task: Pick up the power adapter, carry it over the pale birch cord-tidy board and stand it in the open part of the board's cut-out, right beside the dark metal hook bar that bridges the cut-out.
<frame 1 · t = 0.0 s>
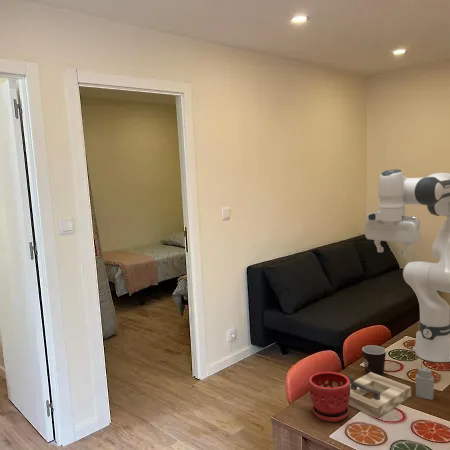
hand: (392, 253, 162), 48 cm above the table, tool pointing down, fingers open, 8 cm apart
coffee mug: (373, 373, 174), on the table
plant pot: (330, 414, 148), on the table
tidy board: (373, 398, 156), on the table
power adapter: (424, 396, 155), on the table
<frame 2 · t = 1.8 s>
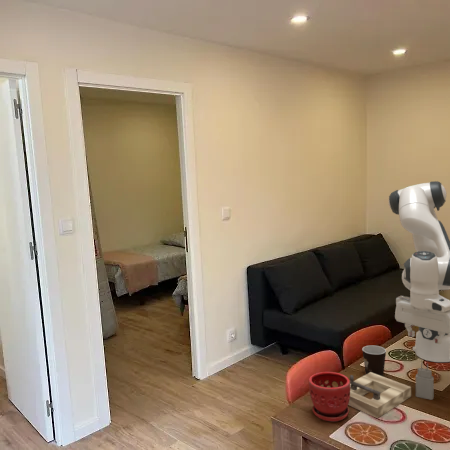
hand: (424, 339, 153), 20 cm above the table, tool pointing down, fingers open, 8 cm apart
nothing on the table moved.
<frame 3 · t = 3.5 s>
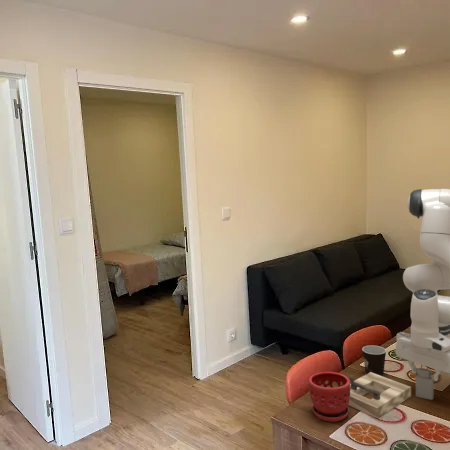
hand: (424, 376, 154), 7 cm above the table, tool pointing down, fingers closed on power adapter, 6 cm apart
power adapter: (424, 396, 155), on the table, touching gripper
everything else where it was.
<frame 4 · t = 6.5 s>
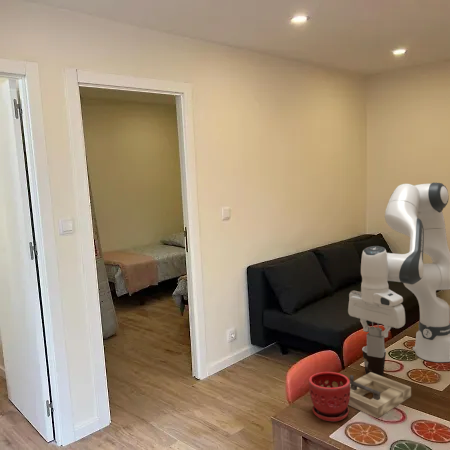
hand: (375, 334, 154), 23 cm above the table, tool pointing down, fingers closed on power adapter, 6 cm apart
power adapter: (375, 355, 155), point 15 cm above the table, touching gripper
everything else where it was.
when the fingers open (9 cm above the table, at t = 9.5 s): power adapter stays where it is, resting in tidy board.
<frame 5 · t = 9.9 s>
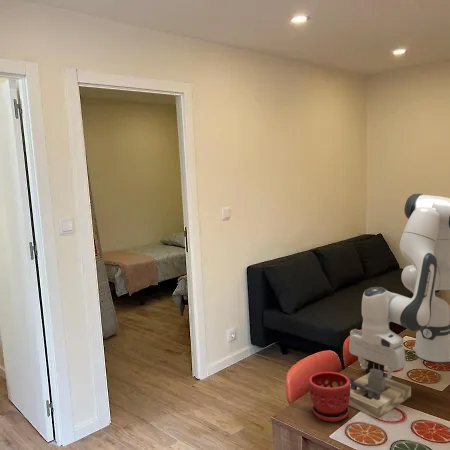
hand: (376, 373, 156), 9 cm above the table, tool pointing down, fingers open, 8 cm apart
power adapter: (376, 397, 157), resting in tidy board
everything else where it was.
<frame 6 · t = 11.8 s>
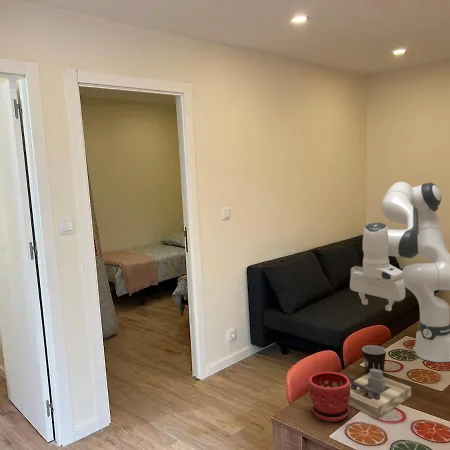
hand: (376, 307, 160), 30 cm above the table, tool pointing down, fingers open, 8 cm apart
nothing on the table moved.
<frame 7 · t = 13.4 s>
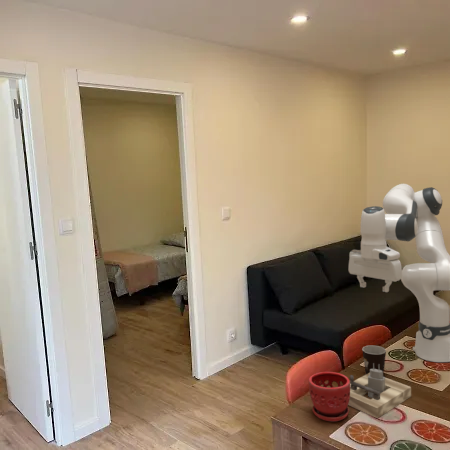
hand: (374, 289, 164), 35 cm above the table, tool pointing down, fingers open, 8 cm apart
nothing on the table moved.
at the end: power adapter inside the target area on the tidy board (0.4 cm from its centre), point 0.0 cm above the tidy board's base; power adapter tilted 0°; the gripper is holding nothing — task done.
